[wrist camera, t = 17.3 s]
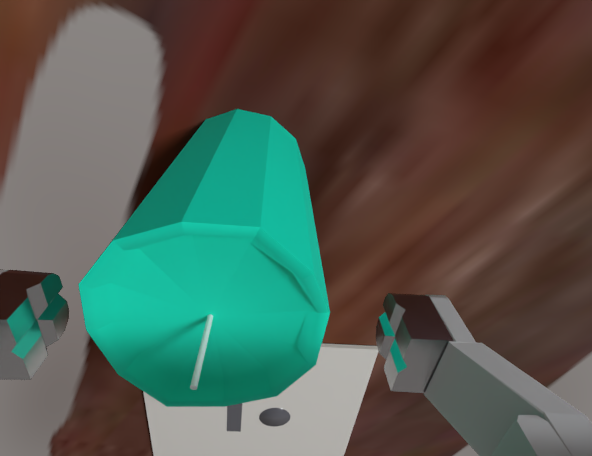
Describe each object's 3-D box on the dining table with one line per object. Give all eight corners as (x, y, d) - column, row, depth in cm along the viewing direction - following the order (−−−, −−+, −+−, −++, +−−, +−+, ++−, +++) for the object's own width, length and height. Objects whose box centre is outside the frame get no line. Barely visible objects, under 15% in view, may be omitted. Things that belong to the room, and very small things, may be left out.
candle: (272, 240, 20) (265, 484, 9) (166, 196, 18) (12, 431, 8) (327, 145, 17) (401, 337, 7) (208, 84, 15) (62, 210, 5)
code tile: (156, 465, 31) (155, 469, 30) (136, 334, 23) (134, 338, 22) (337, 468, 32) (338, 472, 32) (377, 346, 24) (378, 349, 24)
